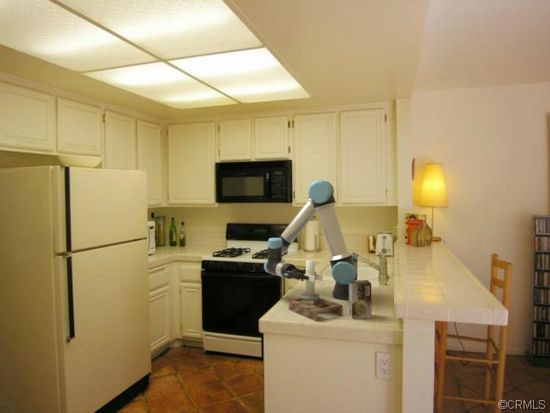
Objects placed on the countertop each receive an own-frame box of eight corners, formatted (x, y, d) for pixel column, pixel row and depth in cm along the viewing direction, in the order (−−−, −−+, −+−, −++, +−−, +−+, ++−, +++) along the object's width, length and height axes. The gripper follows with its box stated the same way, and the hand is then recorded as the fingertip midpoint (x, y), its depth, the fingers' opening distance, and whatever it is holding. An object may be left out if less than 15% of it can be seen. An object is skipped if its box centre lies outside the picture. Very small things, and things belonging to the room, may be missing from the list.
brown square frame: (288, 309, 187) (288, 300, 187) (314, 304, 195) (314, 295, 195) (315, 321, 170) (315, 311, 169) (342, 314, 178) (342, 305, 178)
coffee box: (367, 314, 179) (368, 279, 179) (371, 318, 173) (372, 282, 172) (348, 314, 179) (348, 279, 178) (351, 319, 173) (351, 283, 172)
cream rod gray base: (311, 294, 191) (311, 258, 191) (323, 299, 184) (323, 261, 183) (296, 297, 187) (297, 260, 186) (308, 301, 179) (308, 263, 178)
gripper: (298, 275, 204) (330, 284, 186) (273, 279, 194) (304, 289, 175) (299, 261, 204) (331, 268, 186) (273, 265, 194) (304, 272, 175)
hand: (318, 278), depth 181 cm, fingers closed on cream rod gray base, 4 cm apart
